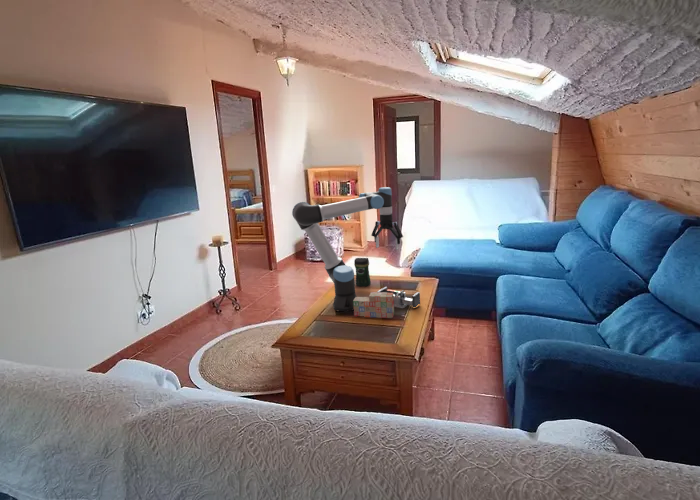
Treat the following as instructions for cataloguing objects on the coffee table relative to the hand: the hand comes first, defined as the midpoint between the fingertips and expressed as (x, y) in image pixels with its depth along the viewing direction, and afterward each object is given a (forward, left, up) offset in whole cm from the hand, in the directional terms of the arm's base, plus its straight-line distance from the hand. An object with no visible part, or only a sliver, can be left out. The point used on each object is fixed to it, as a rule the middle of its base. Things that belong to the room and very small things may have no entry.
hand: (387, 248), depth 248 cm
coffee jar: (+4, +23, -28) cm, 36 cm away
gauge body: (-15, -13, -28) cm, 34 cm away
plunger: (-15, -19, -28) cm, 37 cm away
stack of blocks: (-34, -11, -28) cm, 46 cm away
